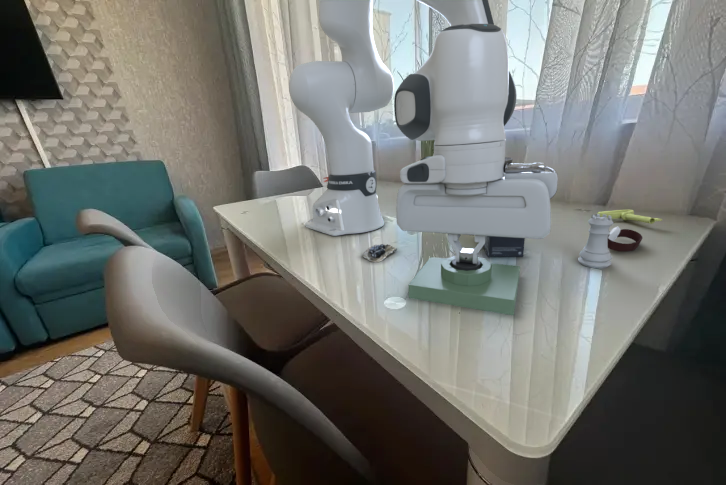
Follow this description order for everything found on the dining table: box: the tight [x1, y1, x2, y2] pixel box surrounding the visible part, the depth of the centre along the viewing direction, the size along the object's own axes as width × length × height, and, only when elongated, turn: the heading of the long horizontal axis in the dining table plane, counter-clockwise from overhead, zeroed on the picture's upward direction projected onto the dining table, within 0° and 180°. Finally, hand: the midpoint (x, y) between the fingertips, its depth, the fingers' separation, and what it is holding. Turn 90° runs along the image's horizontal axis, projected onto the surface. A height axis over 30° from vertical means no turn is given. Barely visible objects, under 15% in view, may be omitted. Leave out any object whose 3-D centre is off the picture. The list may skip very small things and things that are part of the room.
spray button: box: [452, 258, 480, 271], centre depth 47 cm, size 4×4×2 cm
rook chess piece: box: [577, 213, 615, 269], centre depth 51 cm, size 4×4×8 cm
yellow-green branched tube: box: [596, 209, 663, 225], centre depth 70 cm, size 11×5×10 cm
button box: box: [408, 255, 521, 316], centre depth 48 cm, size 14×11×4 cm
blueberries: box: [362, 243, 398, 263], centre depth 64 cm, size 7×8×2 cm
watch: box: [608, 226, 643, 252], centre depth 57 cm, size 8×5×4 cm, turn 118°
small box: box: [483, 236, 526, 258], centre depth 61 cm, size 11×6×10 cm, turn 168°
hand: (467, 262), depth 47 cm, fingers closed, pressing on spray button
